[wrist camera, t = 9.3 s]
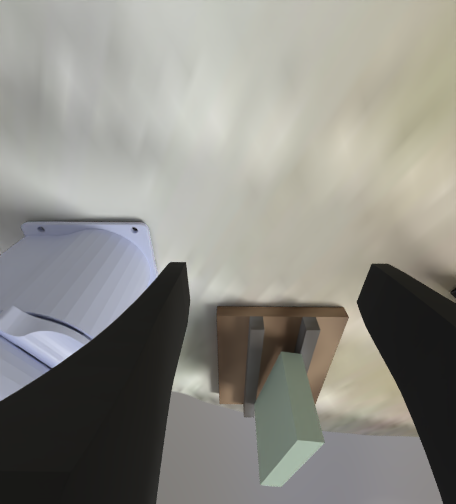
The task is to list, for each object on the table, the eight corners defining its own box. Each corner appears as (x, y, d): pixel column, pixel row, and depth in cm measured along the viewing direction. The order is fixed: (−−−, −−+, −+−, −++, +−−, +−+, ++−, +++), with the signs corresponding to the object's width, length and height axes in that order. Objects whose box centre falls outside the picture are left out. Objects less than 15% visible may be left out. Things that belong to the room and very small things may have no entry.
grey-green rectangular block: (254, 404, 29) (260, 485, 23) (281, 351, 23) (297, 440, 18) (271, 405, 29) (281, 486, 23) (301, 354, 24) (324, 442, 18)
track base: (220, 394, 33) (219, 416, 31) (217, 306, 24) (215, 329, 22) (312, 395, 33) (318, 418, 31) (343, 307, 24) (355, 330, 22)
